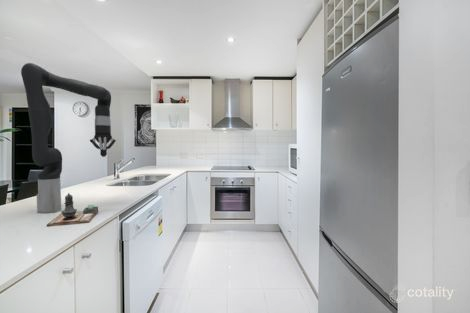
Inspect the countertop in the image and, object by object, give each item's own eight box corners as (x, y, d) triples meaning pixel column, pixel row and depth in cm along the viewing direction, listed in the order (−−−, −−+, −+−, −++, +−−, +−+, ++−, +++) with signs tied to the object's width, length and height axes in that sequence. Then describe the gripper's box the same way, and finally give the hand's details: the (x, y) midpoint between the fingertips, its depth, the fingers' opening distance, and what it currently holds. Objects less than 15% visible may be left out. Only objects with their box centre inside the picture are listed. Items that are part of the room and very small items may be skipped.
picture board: (46, 226, 99) (46, 219, 99) (62, 214, 116) (61, 208, 116) (89, 222, 105) (89, 216, 105) (98, 211, 122) (98, 205, 122)
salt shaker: (60, 221, 102) (59, 194, 102) (62, 217, 108) (61, 192, 107) (76, 219, 105) (75, 193, 105) (78, 215, 110) (77, 191, 110)
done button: (87, 212, 115) (87, 206, 115) (88, 210, 118) (88, 205, 118) (93, 211, 116) (93, 206, 116) (94, 210, 119) (94, 204, 119)
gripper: (117, 125, 131) (118, 156, 132) (90, 125, 127) (91, 156, 128) (115, 124, 124) (115, 156, 125) (86, 123, 120) (87, 157, 121)
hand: (103, 156), depth 127 cm, fingers closed
